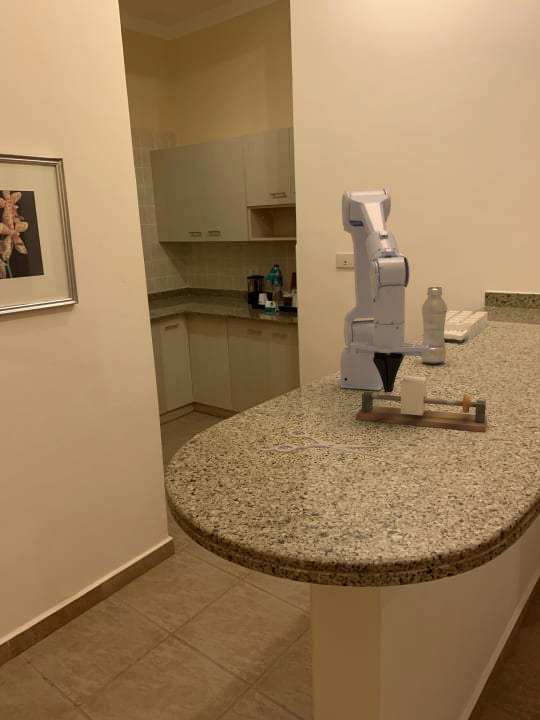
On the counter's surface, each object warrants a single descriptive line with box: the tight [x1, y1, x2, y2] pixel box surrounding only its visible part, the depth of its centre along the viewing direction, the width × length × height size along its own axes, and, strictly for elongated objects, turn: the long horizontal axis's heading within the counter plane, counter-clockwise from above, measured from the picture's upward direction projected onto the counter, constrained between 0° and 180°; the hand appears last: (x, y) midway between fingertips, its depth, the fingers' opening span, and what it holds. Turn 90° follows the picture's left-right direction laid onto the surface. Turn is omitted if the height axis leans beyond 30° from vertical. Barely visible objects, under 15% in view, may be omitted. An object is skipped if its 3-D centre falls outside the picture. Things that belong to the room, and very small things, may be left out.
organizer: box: [444, 310, 489, 341], centre depth 179 cm, size 13×5×35 cm
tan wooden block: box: [400, 375, 427, 415], centre depth 103 cm, size 4×4×6 cm
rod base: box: [355, 391, 488, 433], centre depth 103 cm, size 24×6×6 cm, turn 66°
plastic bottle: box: [420, 286, 448, 365], centre depth 142 cm, size 6×7×20 cm
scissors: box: [262, 429, 381, 458], centre depth 94 cm, size 11×1×20 cm
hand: (388, 390), depth 105 cm, fingers closed
